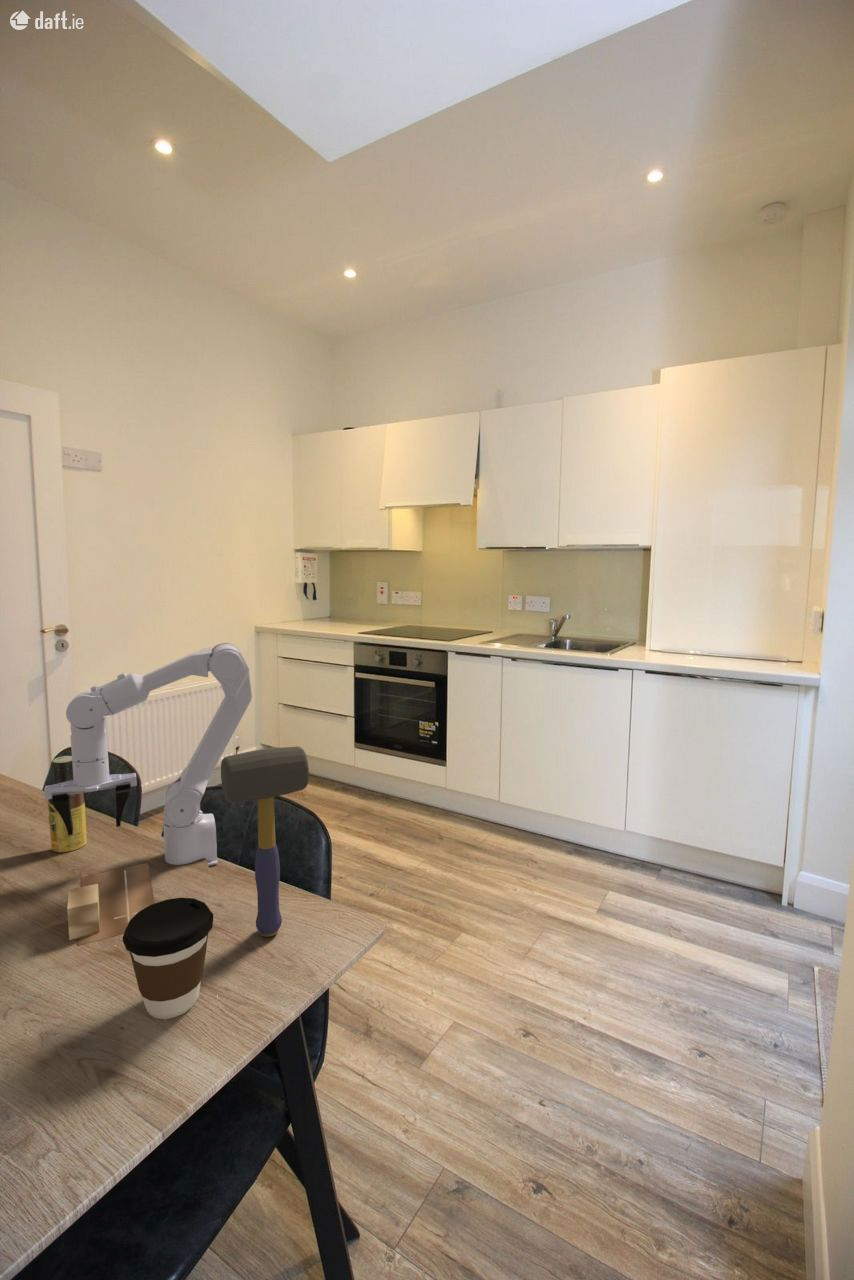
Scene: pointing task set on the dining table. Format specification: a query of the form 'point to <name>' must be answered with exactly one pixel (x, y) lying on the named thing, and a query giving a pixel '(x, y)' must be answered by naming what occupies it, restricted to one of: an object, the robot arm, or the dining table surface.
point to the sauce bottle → (57, 826)
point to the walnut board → (119, 899)
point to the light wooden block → (83, 911)
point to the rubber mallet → (265, 814)
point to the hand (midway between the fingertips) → (94, 828)
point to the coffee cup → (169, 953)
